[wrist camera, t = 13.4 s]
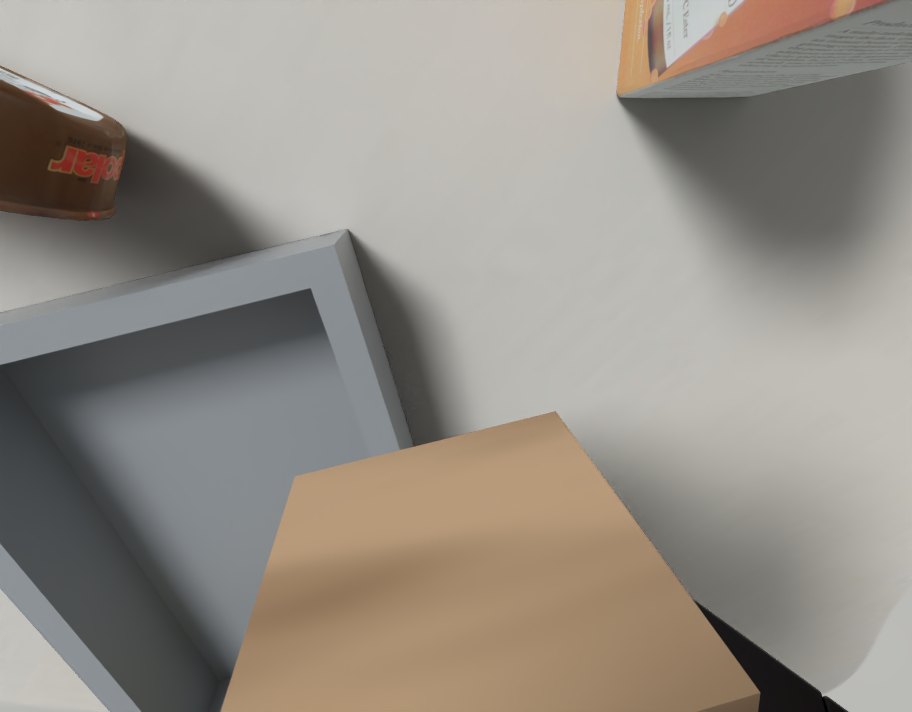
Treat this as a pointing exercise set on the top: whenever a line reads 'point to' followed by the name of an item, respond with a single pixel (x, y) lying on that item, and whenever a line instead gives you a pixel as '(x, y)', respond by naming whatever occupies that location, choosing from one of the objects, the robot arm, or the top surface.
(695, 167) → the top surface
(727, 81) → the small box
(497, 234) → the top surface
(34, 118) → the tin
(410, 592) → the walnut cube
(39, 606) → the tote
